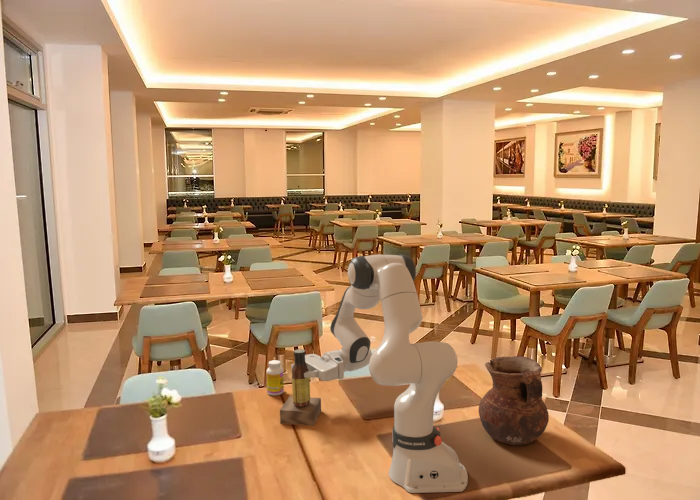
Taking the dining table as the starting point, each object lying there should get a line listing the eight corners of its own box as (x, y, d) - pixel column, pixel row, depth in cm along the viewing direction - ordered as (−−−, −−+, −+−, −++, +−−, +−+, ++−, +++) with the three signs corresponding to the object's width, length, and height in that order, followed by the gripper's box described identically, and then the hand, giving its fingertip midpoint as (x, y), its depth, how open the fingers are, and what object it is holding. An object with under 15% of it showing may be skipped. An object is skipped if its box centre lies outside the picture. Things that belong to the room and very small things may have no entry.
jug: (466, 436, 178) (467, 364, 175) (496, 415, 193) (498, 348, 190) (530, 460, 163) (533, 381, 160) (558, 435, 178) (561, 362, 175)
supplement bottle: (282, 396, 213) (281, 364, 212) (265, 396, 213) (264, 365, 212) (284, 389, 220) (283, 359, 218) (268, 389, 220) (267, 359, 218)
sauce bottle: (313, 402, 195) (313, 350, 191) (303, 409, 189) (303, 355, 186) (299, 398, 198) (298, 346, 195) (288, 404, 193) (288, 351, 189)
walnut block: (321, 410, 199) (320, 398, 199) (313, 425, 188) (313, 412, 187) (289, 409, 201) (289, 396, 201) (280, 423, 190) (279, 410, 189)
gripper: (317, 347, 207) (284, 354, 200) (345, 362, 190) (310, 371, 183) (317, 363, 208) (285, 371, 201) (345, 380, 191) (311, 388, 184)
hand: (297, 371), depth 192 cm, fingers open, 8 cm apart
